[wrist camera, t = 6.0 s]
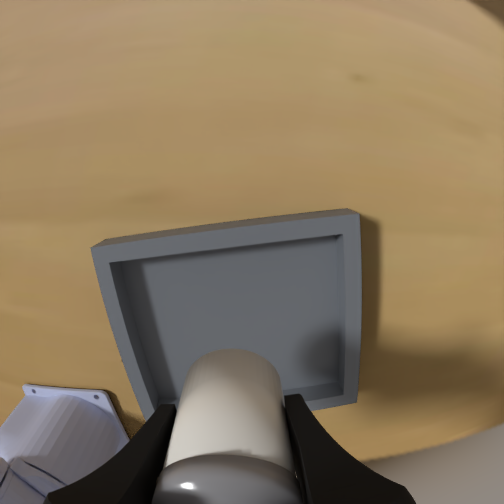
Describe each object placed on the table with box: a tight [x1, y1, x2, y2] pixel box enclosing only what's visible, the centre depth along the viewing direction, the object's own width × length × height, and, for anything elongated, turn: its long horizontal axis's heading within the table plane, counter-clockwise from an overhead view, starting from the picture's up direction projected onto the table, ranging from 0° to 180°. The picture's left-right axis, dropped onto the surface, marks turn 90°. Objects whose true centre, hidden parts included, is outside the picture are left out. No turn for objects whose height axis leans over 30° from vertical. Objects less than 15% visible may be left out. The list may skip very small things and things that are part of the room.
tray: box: [91, 208, 362, 421], centre depth 19 cm, size 15×13×2 cm
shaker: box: [152, 349, 304, 504], centre depth 11 cm, size 5×5×7 cm
